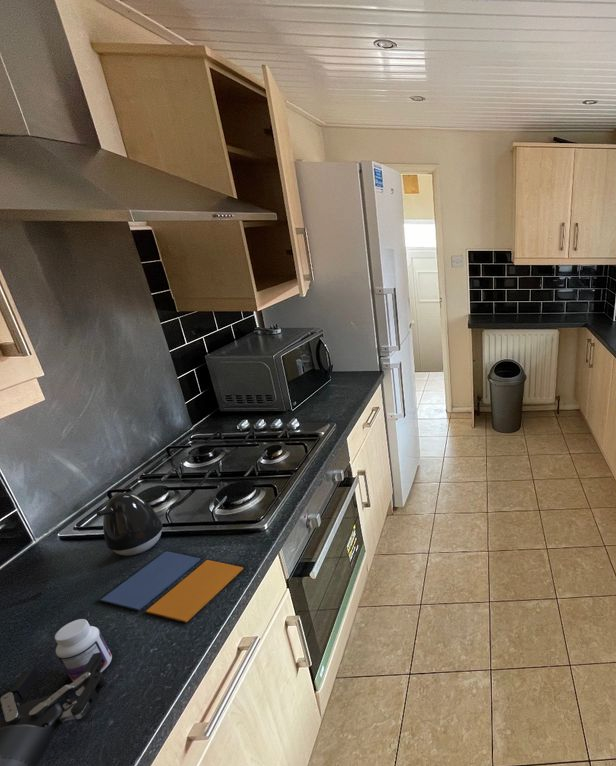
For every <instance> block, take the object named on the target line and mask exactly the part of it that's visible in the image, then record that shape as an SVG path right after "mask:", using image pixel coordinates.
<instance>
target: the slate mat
mask: <svg viewBox="0 0 616 766" xmlns="http://www.w3.org/2000/svg"><path fill="white" fill-rule="evenodd" d="M200 561H201V558H200V557H195V556H190V555H186V554H181V553H177V552H172V551H167V550H166V551H164V552H163V553H161V554H160V555H159V556H158V557H156V558H155V559H152V561H150V562H149V563H147V564H146V565H145V566H144V567H143V568H141V569H139V571H137V572H135V573H134V574H133V575H132V576H130V577H129V578H128V579H126V580H125V581H124V582H122V583H121V584H119V585H118V586H117V587H115V588H114V589H113V590H111V591H110V592H109V593H107V594H106V595H105V596H103V597H102V598H100V601H101V602H103V603H107V604H111V605H115V606H118V607H123V608H127V609H130V610H135V611H140V610H142V609H143V608H144V607H145V606H146V605H148V604H149V603H150V602H151V601H152V600H154V599H155V598H156V597H157V596H159V595H160V594H162V592H163V591H165V590H166V589H167V588H169V587H170V586H171V585H172V584H174V582H176V581H177V580H178V579H179V578H181V577H182V576H183V575H185V573H186V572H188V571H189V570H190V569H191V568H193V567H194V566H195V565H196V564H198V562H200Z"/></svg>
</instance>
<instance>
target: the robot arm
mask: <svg viewBox="0 0 616 766" xmlns="http://www.w3.org/2000/svg"><path fill="white" fill-rule="evenodd" d="M104 664H105V660H104V658H103V656H102V655H101V653H100V652H99V653H95V654H93V655H92V657H91V659H90V660H89V662H88V664H87V665H86V667H85V668H84V670H83V672H82V673H81V674H82V675H81V676H80V677H79V678H77V679H76V680H75V681H72V682H71V683H69V684H65V685H63V686H62V687H60V688H59V689H58V690H56V692H53V693H52V694H48V695H45V696H43V697H40V698H37V699H30V700H26V701H25V703H22V704H21V705H20V702H19V701H22V700H24V699H25V698H26V696H27V695H28V693H29V692H31V691H30V690H31V689H32V688H33V686H34V685H35V684H36V682H37V681H38V679H39V673H38V671H37V669H35V668H31V669H27V670H26V671H25V672H24V674H22V675H20V676H19V677H18V679H17V680H16V681H15V683H14V684H13V685H12V687H11V688H10V689H9V690H8V692H7V693H5V694H3V695H2V696H1V697H0V713H2V712H3V716H4V717H3V718H2V719H1V720H0V766H38V765H39V763H40V761H41V760H42V758H43V756H44V755H45V753H46V751H47V750H48V748H49V745H50V744H51V740H52V737H53V735H54V732H55V731H56V730H57V729H58V728H59V727H60V726H61V725H62V724H63V723H64V722H68V721H73V720H75V721H76V723H82V722H84V721H85V720H86V719H87V718H88V717H89V715H90V713H91V711H92V710H93V708H94V707H95V705H96V703H97V702H98V700H99V699H100V697H101V695H102V693H103V691H104V690H105V688H106V687H107V686H108V682H107V680H106V678H105V676H104V675H103V672H100V671H101V669H102V667H103V666H104ZM77 689H78V690H77ZM64 696H65V698H66V701H65V702H64V703H62V701H61V699H62V698H63V697H64Z"/></svg>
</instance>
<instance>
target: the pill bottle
mask: <svg viewBox="0 0 616 766" xmlns="http://www.w3.org/2000/svg"><path fill="white" fill-rule="evenodd" d="M54 640H55V642H56V643H57V645H56V648H55V654H56V657H57V658H58V660H59V662H60V663H61V664H62V667H63V668H64V669H65V671H66V673H67V674H68V677H69V678H70V679H71V681H72V682H74V681H75V680H76V679H77V678H79V677H80V676H81V675H82V674H81V673H82V672H83V670H84V668H85V667H86V665H87V664H88V662H89V660H90V659H91V657H92V655H93V654H95V653H99V652H100V653H101V655H102V656H103V658H104V660H105V664H104V666H103V667H102V669H101V671H100V672H101V673H103V672H104V671H105V670H106V669H107V668H108V666H109V665H110V664H111V662H112V659H113V654H112V653H111V650H110V648H109V646H108V645H107V643H106V641H105V639H104V637H103V635H102V633H101V631H100V629H99V628H98V627H96V626H93V625H90V623H89V622H88V620H87V619H85V618H79V619H75V620H72V621H70V622H69V623H67V624H65V625H63V626H62V627H61V628H59V630H58V631H57V632H56V633H55V635H54Z"/></svg>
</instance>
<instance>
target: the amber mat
mask: <svg viewBox="0 0 616 766" xmlns="http://www.w3.org/2000/svg"><path fill="white" fill-rule="evenodd" d="M243 570H244V567H243V566H239V565H233V564H229V563H224V562H219V561H216V560H215V561H214V560H211V559H206V560H205V561H204V562H203V563H201V565H199V566H198V567H196V569H195V570H193V571H192V572H191V573H190V574H189V575H187V576H186V577H185V578H183V579H182V580H181V581H180V582H179V583H178V584H176V585H175V586H174V587H173V588H172V589H170V590H169V591H168V592H167V593H165V594H164V595H163V596H161V598H160V599H158V600H157V601H156V602H155V603H153V604H152V605H151V606H150V607H149V608H148V609H146V610H145V612H146V613H147V614H150V615H155V616H158V617H163V618H166V619H170V620H173V621H174V620H175V621H178V622H182V623H188V622H189V621H190V620H191V619H192V618H193V617H195V615H196V614H197V613H199V612H200V611H201V610H202V609H203V608H204V607H205V606H206V605H207V604H209V602H210V601H211V600H212V599H213V598H215V597H216V596H217V595H218V594H219V593H220V592H221V591H222V590H223V589H224V588H225V587H226V586H227V585H228V584H229V583H230V582H231V581H233V579H234V578H236V577H237V576H238V575H239V574H240V573H241V572H242V571H243Z"/></svg>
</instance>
